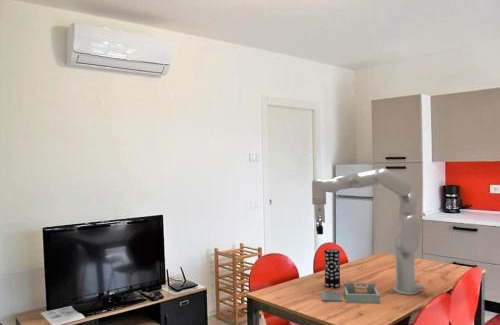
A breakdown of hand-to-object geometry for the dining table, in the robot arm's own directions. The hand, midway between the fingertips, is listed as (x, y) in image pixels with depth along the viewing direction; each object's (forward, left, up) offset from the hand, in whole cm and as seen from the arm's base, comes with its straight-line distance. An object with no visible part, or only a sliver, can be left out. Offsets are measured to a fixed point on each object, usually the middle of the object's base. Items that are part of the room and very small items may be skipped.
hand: (319, 232), depth 225 cm
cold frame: (-20, +13, -31) cm, 39 cm away
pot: (-20, +13, -31) cm, 39 cm away
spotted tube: (-7, -6, -31) cm, 33 cm away
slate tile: (-5, +13, -31) cm, 34 cm away
